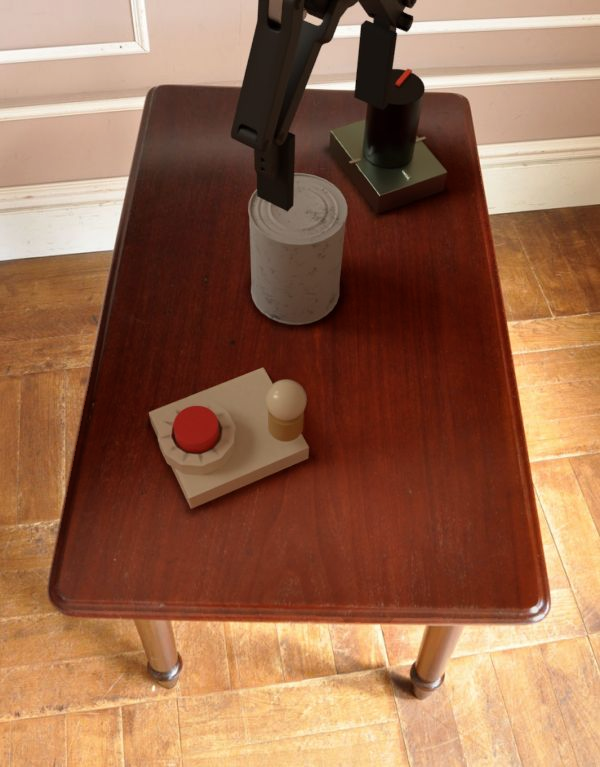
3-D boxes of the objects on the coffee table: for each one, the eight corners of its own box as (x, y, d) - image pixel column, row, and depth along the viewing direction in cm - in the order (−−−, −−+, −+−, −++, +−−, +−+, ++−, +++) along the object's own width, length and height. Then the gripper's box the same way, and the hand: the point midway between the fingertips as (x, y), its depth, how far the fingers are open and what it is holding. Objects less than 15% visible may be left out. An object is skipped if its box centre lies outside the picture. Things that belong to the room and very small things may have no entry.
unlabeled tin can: (278, 338, 89) (278, 258, 79) (235, 276, 93) (230, 193, 83) (356, 303, 92) (366, 222, 81) (310, 244, 96) (315, 160, 86)
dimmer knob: (398, 175, 98) (409, 109, 90) (353, 155, 100) (359, 88, 92) (422, 145, 101) (434, 78, 93) (377, 126, 103) (386, 59, 95)
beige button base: (146, 425, 83) (141, 403, 79) (263, 379, 86) (263, 356, 83) (186, 511, 78) (182, 491, 75) (308, 458, 81) (310, 437, 78)
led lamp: (259, 418, 79) (258, 380, 74) (294, 404, 80) (295, 365, 74) (276, 449, 77) (276, 412, 72) (311, 434, 78) (314, 397, 73)
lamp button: (168, 425, 79) (166, 415, 77) (208, 409, 80) (207, 399, 78) (185, 459, 77) (183, 450, 75) (226, 442, 78) (225, 433, 76)
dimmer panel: (324, 151, 105) (325, 130, 102) (396, 127, 107) (400, 106, 105) (372, 216, 99) (375, 196, 96) (447, 189, 101) (452, 169, 99)
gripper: (273, -19, 41) (273, 272, 59) (502, -209, 53) (445, 81, 71) (150, -70, 43) (186, 226, 61) (397, -242, 55) (367, 48, 73)
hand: (325, 149), depth 66 cm, fingers open, 13 cm apart
